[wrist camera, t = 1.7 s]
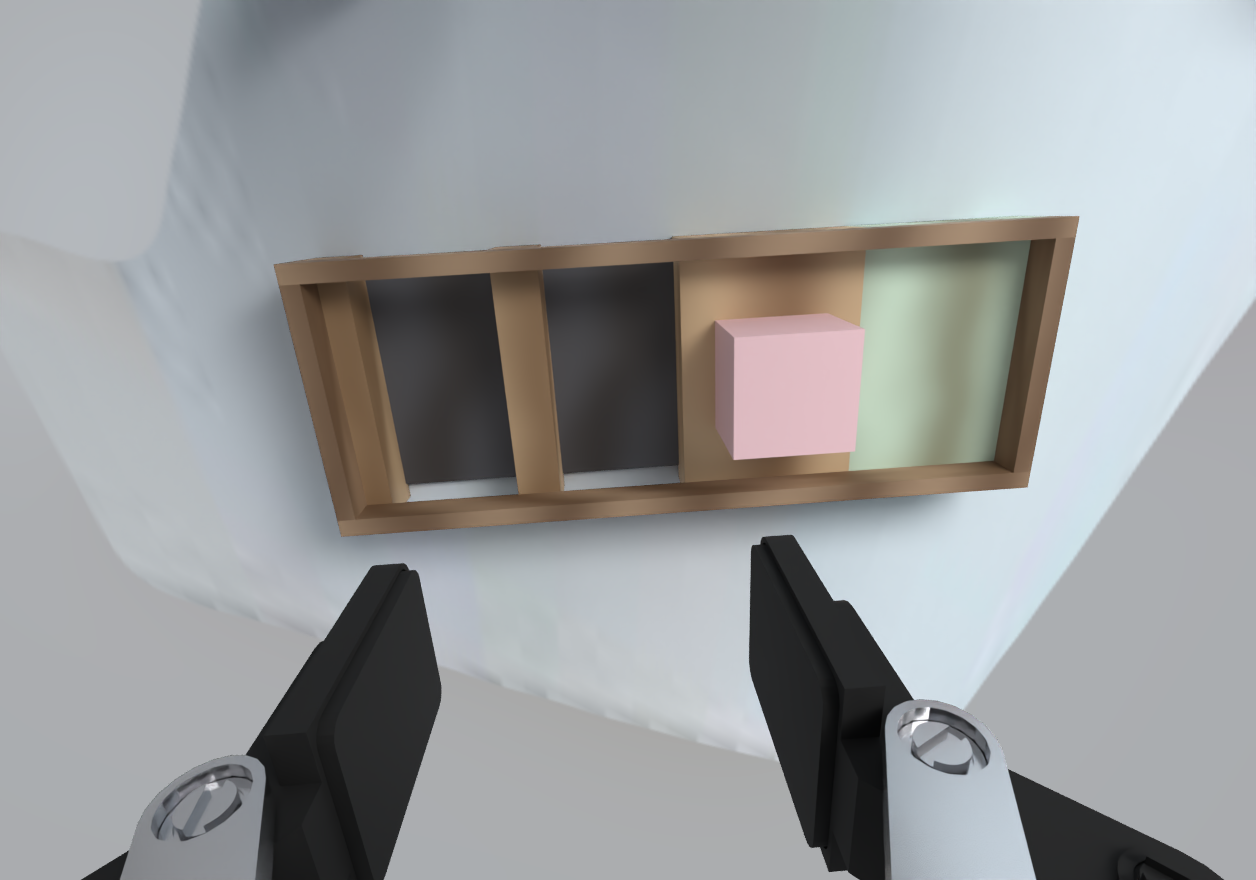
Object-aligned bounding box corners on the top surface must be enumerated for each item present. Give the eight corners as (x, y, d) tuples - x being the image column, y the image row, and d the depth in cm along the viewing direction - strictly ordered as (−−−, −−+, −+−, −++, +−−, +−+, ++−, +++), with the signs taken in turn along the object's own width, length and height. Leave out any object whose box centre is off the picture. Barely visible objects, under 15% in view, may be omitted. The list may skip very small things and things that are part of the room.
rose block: (715, 320, 27) (734, 337, 23) (827, 313, 27) (865, 329, 23) (715, 427, 28) (733, 460, 25) (821, 420, 29) (855, 451, 25)
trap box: (371, 498, 32) (341, 536, 28) (317, 257, 27) (273, 264, 24) (977, 455, 32) (1027, 487, 29) (1015, 216, 28) (1079, 216, 24)
